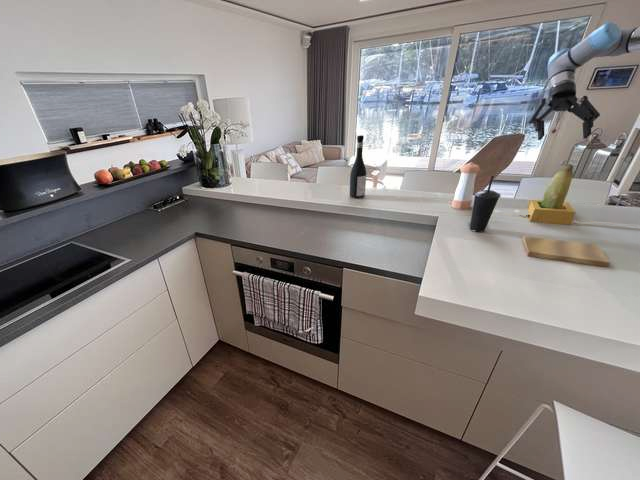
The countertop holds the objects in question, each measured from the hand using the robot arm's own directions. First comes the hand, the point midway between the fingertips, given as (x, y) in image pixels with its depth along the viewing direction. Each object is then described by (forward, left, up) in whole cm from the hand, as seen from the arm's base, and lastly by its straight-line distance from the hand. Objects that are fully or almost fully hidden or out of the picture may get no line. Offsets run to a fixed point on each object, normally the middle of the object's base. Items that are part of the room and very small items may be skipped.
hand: (563, 137), depth 105 cm
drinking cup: (+21, +30, -28) cm, 46 cm away
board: (-1, +41, -28) cm, 49 cm away
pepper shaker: (+27, +5, -28) cm, 39 cm away
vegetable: (-2, +10, -28) cm, 30 cm away
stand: (-2, +10, -28) cm, 29 cm away
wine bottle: (+75, +2, -28) cm, 80 cm away
